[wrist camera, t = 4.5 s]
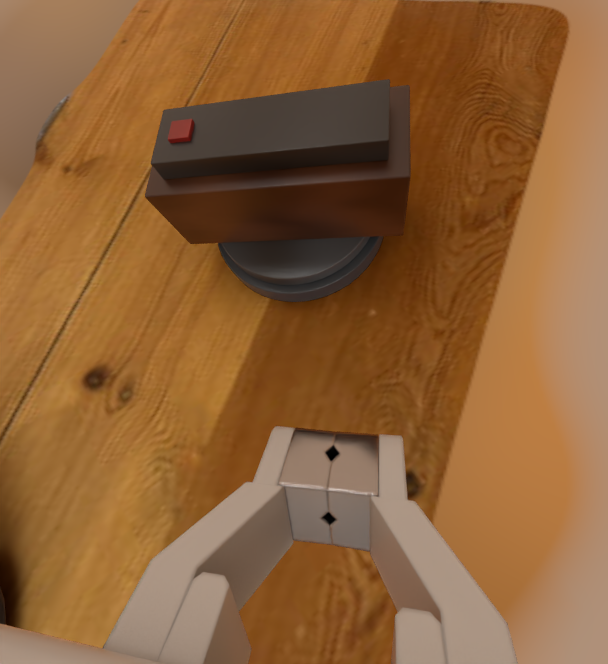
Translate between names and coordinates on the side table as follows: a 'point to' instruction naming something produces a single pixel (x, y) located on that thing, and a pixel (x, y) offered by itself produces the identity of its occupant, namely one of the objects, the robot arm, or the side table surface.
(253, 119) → the remote caddy
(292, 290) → the turntable base
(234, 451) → the side table surface
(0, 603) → the teapot
